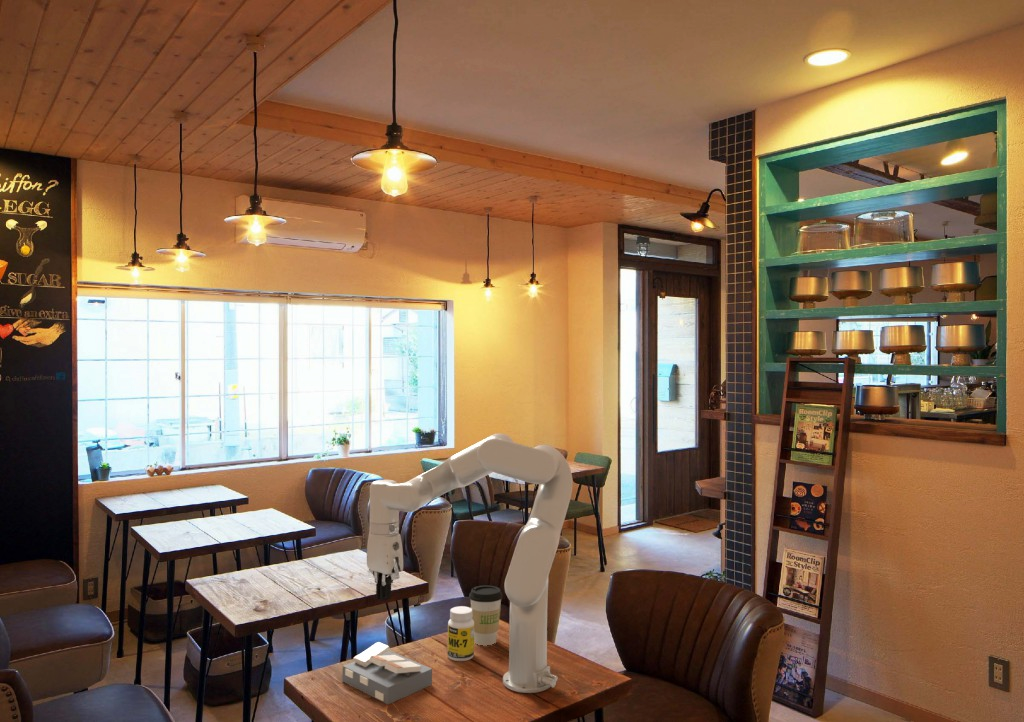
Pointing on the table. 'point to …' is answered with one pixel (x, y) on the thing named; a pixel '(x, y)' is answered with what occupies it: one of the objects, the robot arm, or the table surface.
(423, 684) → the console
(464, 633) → the supplement bottle
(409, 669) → the block
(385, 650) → the block
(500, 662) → the table surface
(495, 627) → the coffee cup
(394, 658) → the rocker
